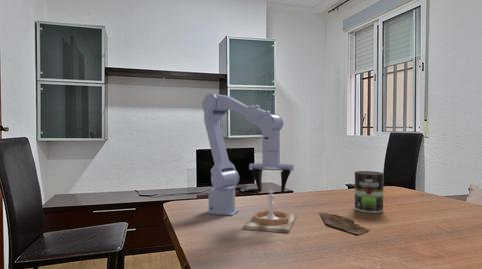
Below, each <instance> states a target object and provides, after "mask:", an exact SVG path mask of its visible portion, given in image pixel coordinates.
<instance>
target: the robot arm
mask: <svg viewBox="0 0 482 269" xmlns="http://www.w3.org/2000/svg"><path fill="white" fill-rule="evenodd" d="M201 104H202V110H203V122H204V125H205V130H206V134H207V138H208V142H209V145H210V151H211V155H212V159H213V162H214V163H213V164H214V165H213V166H212V168H211V169H210V174H211V175H210V181H211V185H212V188H210V189H209V191H208V212H207V214H209V215H210V214H211V215H220V216H221V215H222V216H234V215H235V214H236V213H237V212H239V210H240V209H239V208H236V188H237V185H238V184H239V182H240V175H239V172H238V171H237V170H236V166H235V165H234V163H232V162H231V161H230V159H229V155H228V151H227V148H226V145H225V143H226V142H225V139H224V135H223V131H222V127H221V123H220V121H221V119H222V118H223V117H224V116H225V115H226V113H228V112H229V110H232V111H235V112H237V113H238V114H241V115H243V116H244V119H245V120H246V121H247V122H249V123H251V124H253V125H255V126H257V127H259V129H260V131H261V136H262V140H261V141H262V144H261V145H262V146H261V147H262V150H261V151H262V154H261V155H262V162H261V163H249V166H248V169H249V170H251V175H252V176H253V178H254V181H255V184H256V186H257V192H258V193H261V192H262V189H263V187H262V186H263V185H262V182H263V181H262V178H263V171H280V178H281V179H280V180H281V183H280V184H281V189H280V193H281V194H284V193H285V190H286V184H287V183H288V182H287V181H288V179H289V176H290V174H291V172H294V170H295V169H294V166H295V165H294V164H288V163H287V164H286V163H281V153H280V152H281V150H280V149H281V144H280V142H281V130H282V128H283V126H284V120H283V118H282V117H281V116H279V114H276V113H275V114H272V113H271V111H269V110H265V109H263V108H262V109H261V108H260V107H261V106H260V105H258V104H254V105H253V104H251V105H246V104H244V103H243V102H241V101H239V100H238V99H235V98H234V97H232V96H229V95H227V94H217V93H216V94H215V93H212V92H211V93H210V92H209V93H207V94H206V95H204V98H203V100H202V102H201Z"/></svg>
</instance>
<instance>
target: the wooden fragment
mask: <svg viewBox="0 0 482 269" xmlns="http://www.w3.org/2000/svg"><path fill="white" fill-rule="evenodd" d="M318 213H319V215H320V216H321V218H322V219H323V222H324V223H325V225H327V226H330V227H333V228H335V229H336V228H337V229H339V230H342V231H345V232H348V233H352V234H355V235H356V234H357V236H361V235H365V234H366V233H369V232H370V229H368V228H366V227H364V226H361V225H360V224H359V223H358V224H357V223H355V221H354V220H353V219H350V218H348V217H345V216H343V215H339V214H337V213H335V214H333V213H326V212H318Z"/></svg>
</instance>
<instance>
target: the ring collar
mask: <svg viewBox="0 0 482 269" xmlns="http://www.w3.org/2000/svg"><path fill="white" fill-rule="evenodd" d="M273 213H274V215H275V216H282V217H284V218H281V219H262V218H260V216H267V215H268V214H269V209H268V210H261V211H259V212H258V211H255V213H254V214H253V215H252V217H253V220H254V221H256V222H258V223H260V224H268V225H279V224H285V223H289V221H290V214H291V213H289V212H285V211H283V210H273Z"/></svg>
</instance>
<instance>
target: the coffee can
mask: <svg viewBox="0 0 482 269" xmlns="http://www.w3.org/2000/svg"><path fill="white" fill-rule="evenodd" d="M353 173H354V210H356V211H357V212H361V213H362V212H363V213H368V214H379V213H383V212H384V175H385V174H384V173H383V172H381V171H380V172H379V171H372V170H371V171H368V170H358V171H354V172H353Z"/></svg>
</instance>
